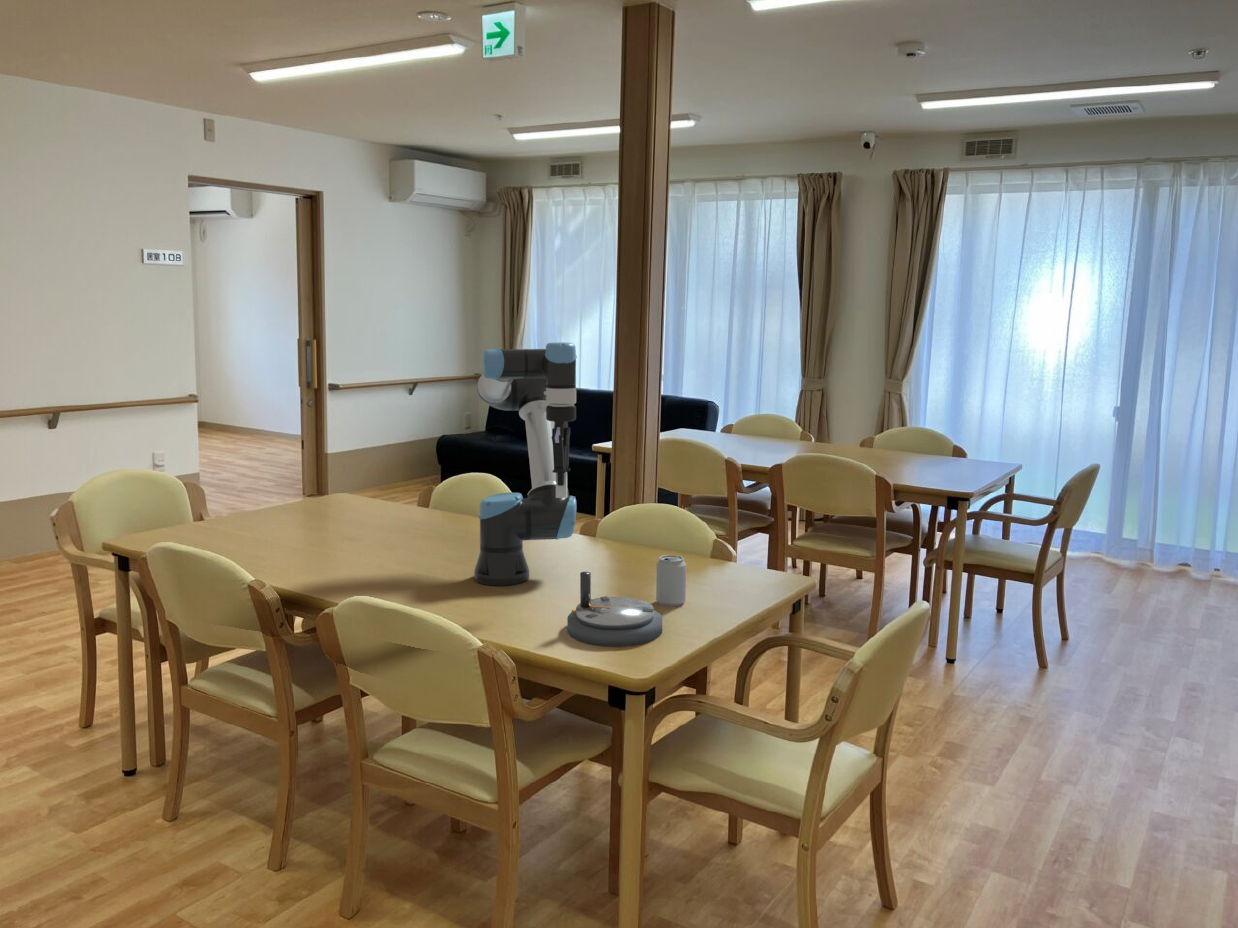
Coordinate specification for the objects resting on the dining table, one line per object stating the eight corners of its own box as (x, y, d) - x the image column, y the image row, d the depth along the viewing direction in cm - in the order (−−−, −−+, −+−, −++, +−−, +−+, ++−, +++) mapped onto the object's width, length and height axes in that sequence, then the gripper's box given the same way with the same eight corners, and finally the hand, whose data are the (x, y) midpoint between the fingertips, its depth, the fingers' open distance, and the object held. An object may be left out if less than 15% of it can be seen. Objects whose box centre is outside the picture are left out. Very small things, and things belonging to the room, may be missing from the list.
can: (654, 598, 249) (654, 553, 247) (683, 598, 250) (683, 553, 248) (658, 607, 242) (658, 561, 240) (687, 607, 242) (688, 560, 240)
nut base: (572, 648, 212) (572, 633, 212) (563, 617, 234) (563, 602, 233) (670, 644, 215) (670, 628, 215) (653, 613, 237) (653, 599, 236)
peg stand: (664, 624, 218) (665, 582, 217) (588, 632, 213) (588, 588, 211) (638, 601, 235) (639, 562, 234) (567, 608, 230) (567, 567, 228)
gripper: (551, 402, 248) (551, 492, 252) (541, 407, 236) (541, 502, 239) (580, 402, 248) (580, 492, 251) (571, 407, 235) (571, 502, 239)
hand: (561, 497), depth 245 cm, fingers closed
